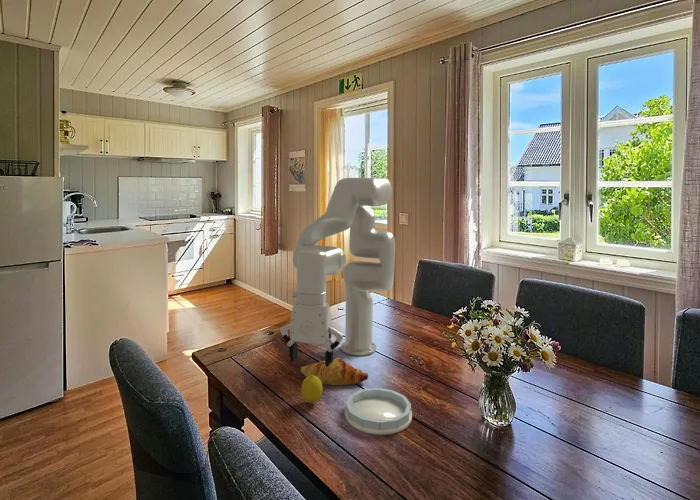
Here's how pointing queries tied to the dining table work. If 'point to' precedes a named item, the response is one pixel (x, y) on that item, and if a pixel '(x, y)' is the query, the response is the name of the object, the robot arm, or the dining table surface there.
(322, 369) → the croissant
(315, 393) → the lemon
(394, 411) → the dish
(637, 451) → the dining table surface
